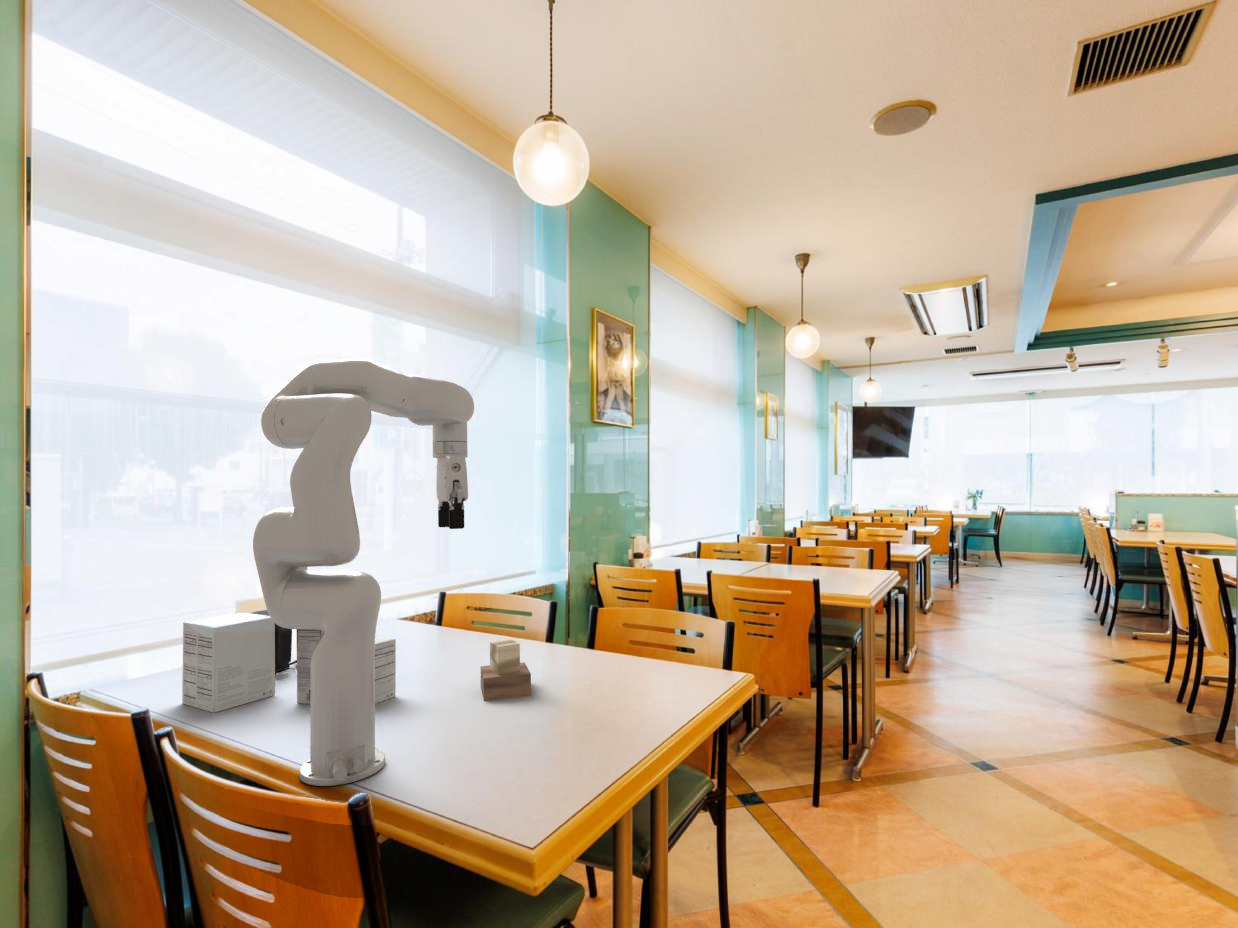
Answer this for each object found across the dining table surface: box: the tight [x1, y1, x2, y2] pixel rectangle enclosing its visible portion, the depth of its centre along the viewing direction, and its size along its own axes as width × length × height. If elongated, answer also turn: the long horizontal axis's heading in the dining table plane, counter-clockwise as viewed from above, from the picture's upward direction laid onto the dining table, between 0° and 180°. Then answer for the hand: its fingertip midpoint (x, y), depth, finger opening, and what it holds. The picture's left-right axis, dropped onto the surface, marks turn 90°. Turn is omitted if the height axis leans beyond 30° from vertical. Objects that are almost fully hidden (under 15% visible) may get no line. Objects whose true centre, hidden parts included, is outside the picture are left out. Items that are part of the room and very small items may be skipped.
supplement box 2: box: [375, 636, 397, 705], centre depth 139 cm, size 7×7×13 cm
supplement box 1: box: [181, 611, 276, 713], centre depth 141 cm, size 13×13×18 cm
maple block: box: [489, 638, 521, 675], centre depth 142 cm, size 5×5×6 cm
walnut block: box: [480, 661, 532, 702], centre depth 142 cm, size 10×10×5 cm
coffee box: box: [296, 629, 324, 705], centre depth 141 cm, size 9×6×16 cm
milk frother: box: [250, 609, 297, 673], centre depth 167 cm, size 14×16×15 cm
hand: (451, 527), depth 143 cm, fingers open, 9 cm apart
